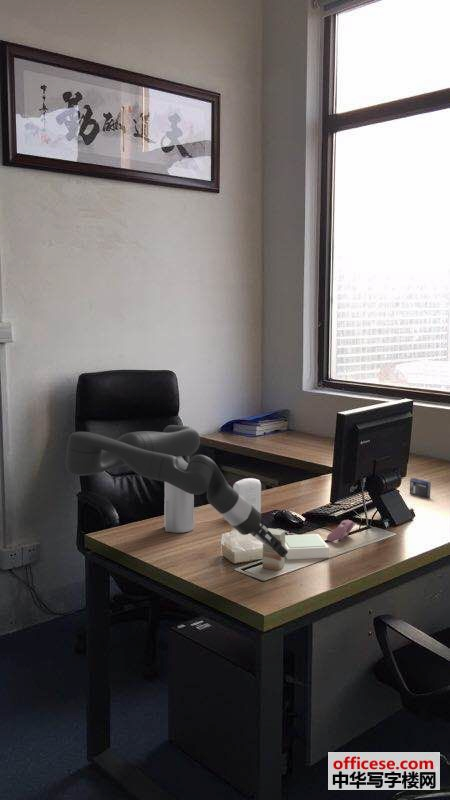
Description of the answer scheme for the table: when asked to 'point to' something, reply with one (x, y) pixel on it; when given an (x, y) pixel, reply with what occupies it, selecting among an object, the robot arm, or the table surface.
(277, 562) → the skincare box
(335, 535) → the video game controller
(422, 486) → the mini dv tape
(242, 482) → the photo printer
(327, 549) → the plinth
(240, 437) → the table surface
